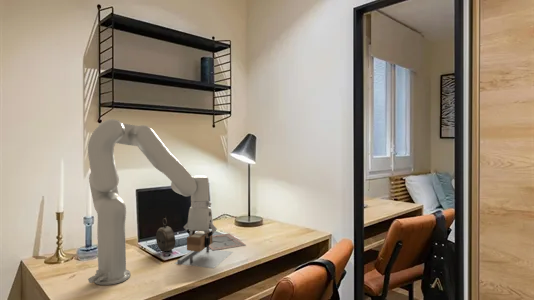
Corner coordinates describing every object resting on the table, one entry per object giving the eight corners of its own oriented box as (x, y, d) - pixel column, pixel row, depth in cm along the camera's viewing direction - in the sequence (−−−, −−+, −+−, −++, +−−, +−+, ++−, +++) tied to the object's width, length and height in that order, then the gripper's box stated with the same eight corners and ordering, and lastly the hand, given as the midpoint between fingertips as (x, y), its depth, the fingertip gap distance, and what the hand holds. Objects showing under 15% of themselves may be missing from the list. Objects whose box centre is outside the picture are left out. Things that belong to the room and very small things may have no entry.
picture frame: (199, 242, 173) (212, 254, 154) (199, 237, 173) (212, 249, 154) (229, 237, 181) (245, 249, 162) (229, 233, 181) (245, 244, 162)
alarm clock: (176, 254, 153) (175, 219, 152) (165, 257, 149) (164, 221, 148) (164, 248, 160) (164, 215, 160) (153, 251, 157) (153, 217, 156)
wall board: (214, 271, 133) (213, 260, 133) (174, 266, 138) (174, 256, 138) (233, 254, 152) (233, 245, 152) (197, 250, 158) (197, 241, 157)
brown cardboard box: (199, 251, 139) (199, 238, 139) (186, 250, 141) (186, 237, 141) (212, 243, 151) (212, 230, 151) (200, 241, 152) (200, 229, 152)
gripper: (221, 203, 146) (221, 244, 147) (186, 201, 151) (186, 241, 152) (214, 207, 139) (214, 250, 140) (177, 204, 144) (177, 246, 145)
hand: (200, 245), depth 146 cm, fingers closed on brown cardboard box, 6 cm apart
